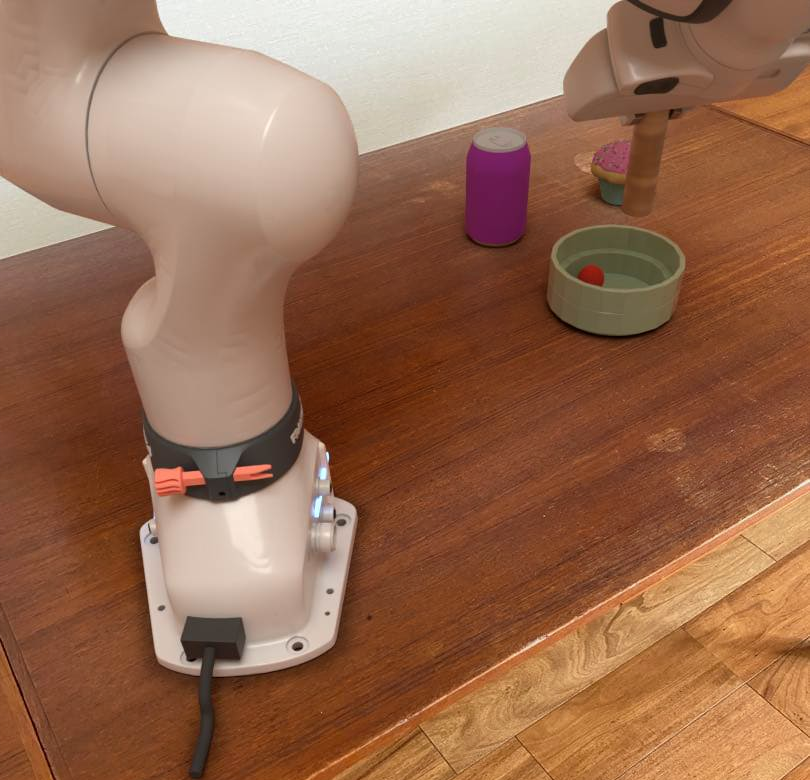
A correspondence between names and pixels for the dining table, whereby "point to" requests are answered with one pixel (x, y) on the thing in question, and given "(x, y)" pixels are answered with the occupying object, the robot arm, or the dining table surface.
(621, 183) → the cupcake
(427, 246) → the dining table surface
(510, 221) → the beverage can
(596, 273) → the berry
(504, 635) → the dining table surface
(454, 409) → the dining table surface
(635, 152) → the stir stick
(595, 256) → the bowl
